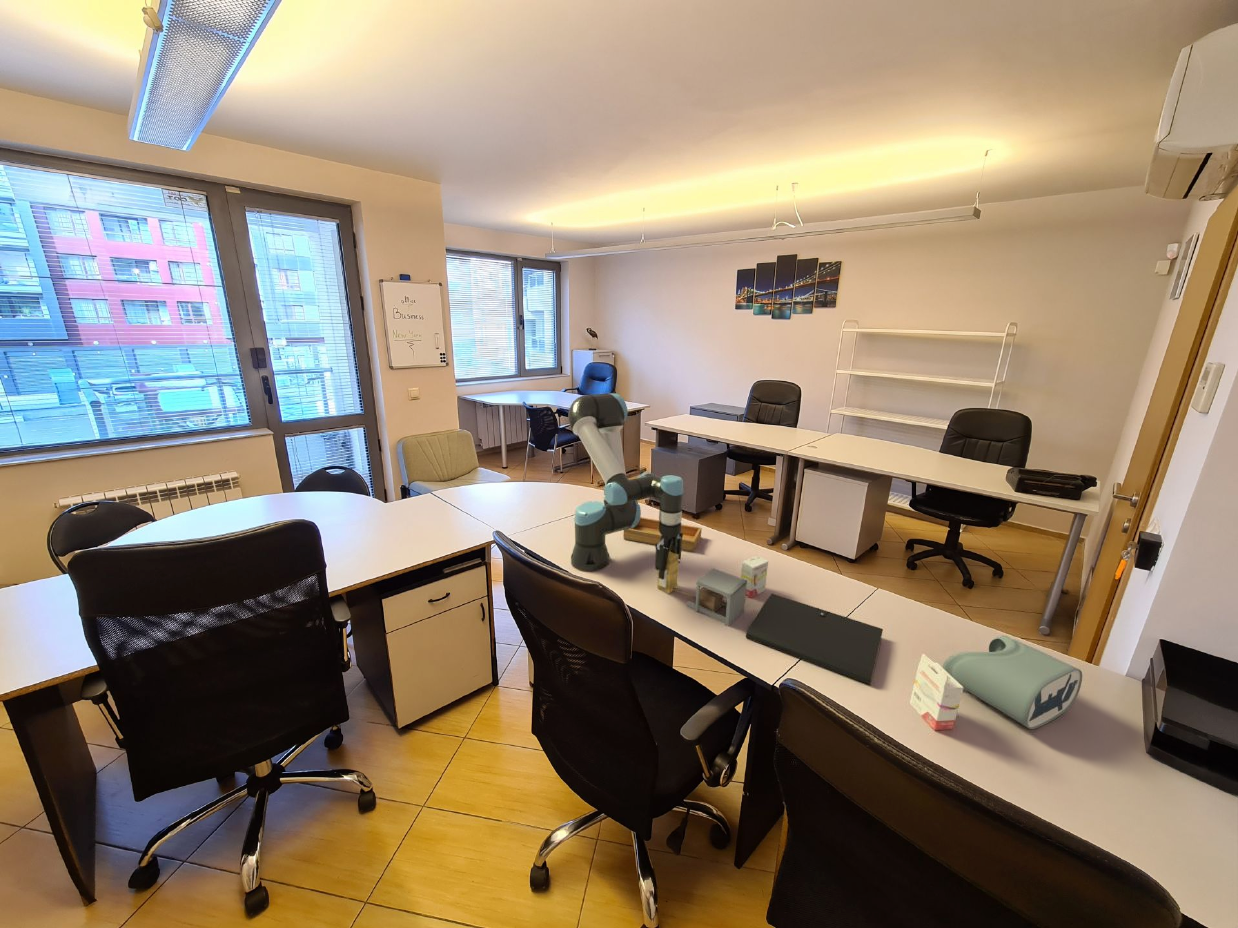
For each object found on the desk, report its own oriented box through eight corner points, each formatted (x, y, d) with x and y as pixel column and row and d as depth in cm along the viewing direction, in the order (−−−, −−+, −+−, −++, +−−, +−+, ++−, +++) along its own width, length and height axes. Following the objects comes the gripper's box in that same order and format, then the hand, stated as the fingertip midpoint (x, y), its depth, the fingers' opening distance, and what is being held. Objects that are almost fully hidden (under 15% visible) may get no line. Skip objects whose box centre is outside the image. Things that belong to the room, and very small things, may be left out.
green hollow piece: (1022, 738, 104) (1034, 689, 101) (937, 684, 121) (945, 641, 118) (1075, 708, 113) (1087, 663, 110) (988, 662, 130) (997, 621, 127)
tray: (700, 538, 204) (701, 526, 202) (693, 553, 190) (694, 540, 188) (635, 527, 214) (635, 515, 213) (623, 540, 201) (623, 528, 199)
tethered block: (656, 588, 163) (657, 555, 159) (666, 582, 167) (667, 549, 163) (713, 613, 149) (716, 577, 145) (722, 605, 153) (725, 570, 150)
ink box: (749, 598, 158) (753, 567, 154) (738, 592, 162) (741, 561, 158) (765, 590, 163) (769, 560, 159) (754, 584, 166) (757, 554, 163)
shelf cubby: (685, 606, 153) (687, 577, 149) (702, 593, 161) (704, 564, 158) (727, 626, 143) (730, 594, 140) (744, 610, 151) (747, 580, 148)
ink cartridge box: (954, 729, 107) (968, 676, 103) (934, 731, 106) (947, 677, 102) (927, 701, 115) (939, 651, 111) (908, 702, 114) (920, 651, 110)
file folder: (883, 627, 138) (872, 676, 118) (880, 639, 139) (869, 689, 120) (771, 591, 155) (746, 629, 136) (770, 602, 157) (745, 641, 138)
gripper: (664, 532, 147) (661, 597, 154) (694, 516, 161) (690, 576, 167) (645, 526, 152) (643, 589, 158) (675, 511, 165) (672, 569, 172)
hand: (667, 582), depth 163 cm, fingers closed on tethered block, 5 cm apart
